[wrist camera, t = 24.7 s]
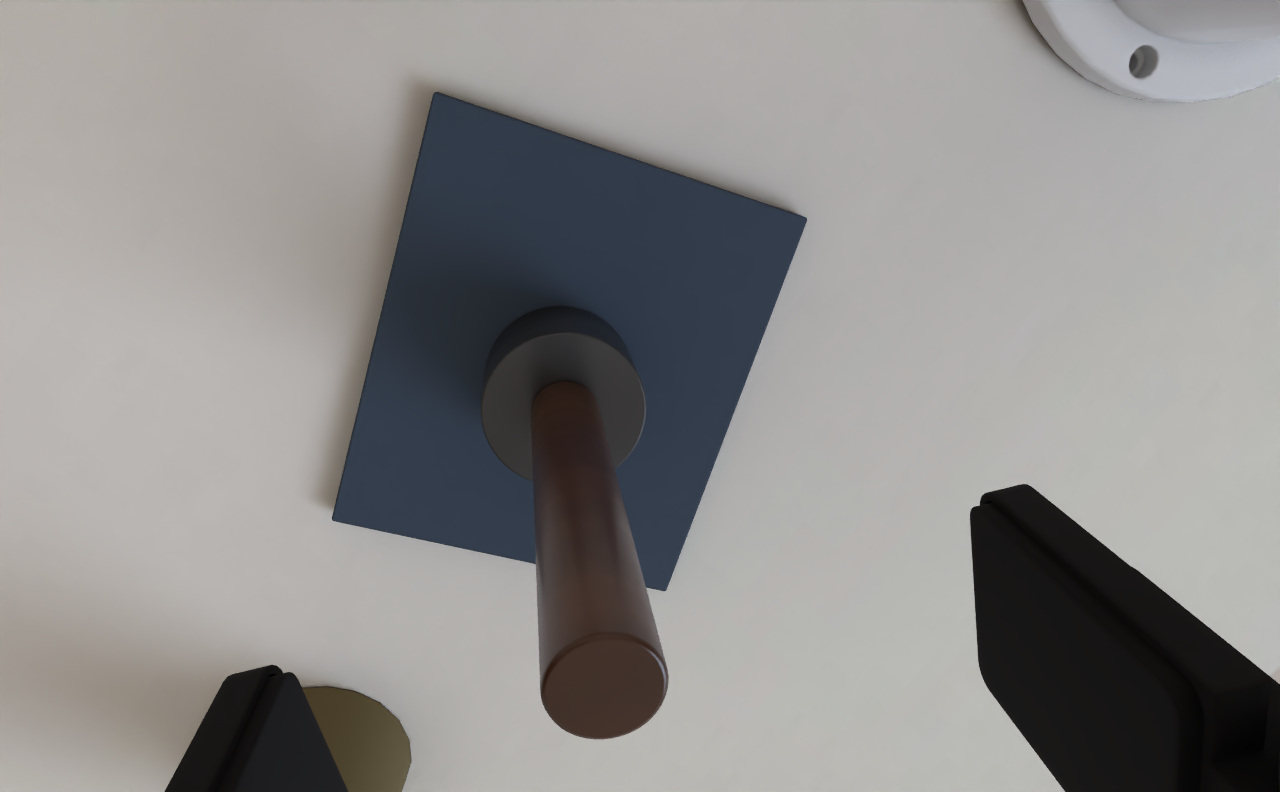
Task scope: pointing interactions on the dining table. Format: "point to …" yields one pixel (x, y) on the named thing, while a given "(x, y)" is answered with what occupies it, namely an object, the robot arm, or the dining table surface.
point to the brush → (579, 513)
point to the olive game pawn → (362, 739)
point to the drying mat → (543, 277)
